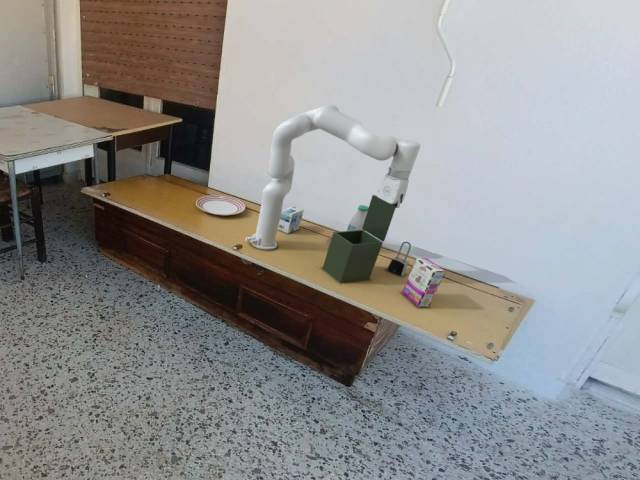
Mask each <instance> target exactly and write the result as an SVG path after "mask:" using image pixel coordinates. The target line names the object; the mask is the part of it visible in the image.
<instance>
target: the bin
mask: <svg viewBox="0 0 640 480" xmlns="http://www.w3.org/2000/svg"><path fill="white" fill-rule="evenodd" d="M383 245H384V241H383V242H382V241H381V240H379V239H378V238H376V237H374V236H373V235H371V234H370V233H368V232H366V231H364V230H354V231H347V230H343V231H333V233H332V235H331V239H330V242H329V246H328V249H327V253H326V255H325V259H324V262H323V265H322V270H324V271H325V272H326V273H327V274H329V275H330V276H331V277H332V278H334V279H335V280H336V281H337V282H338V283H340V284H341V283H349V282H358V281H367V280H368V281H369V280H370V278H371V275H372V273H373V270H374V267H375V264H376V263H377V260H378V257H379V254H380V252H381V249H382V246H383Z"/></svg>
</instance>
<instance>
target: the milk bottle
mask: <svg viewBox="0 0 640 480" xmlns="http://www.w3.org/2000/svg"><path fill="white" fill-rule="evenodd" d="M368 208H369V206H367V205H363V204H360V205H358V206H357V211H356V213H355V214H354V215H353V216H352V217H351V219H350V221H349V223H348V226H347V229H346V231H354V230H363V229H362V228H363V224H364V221H365V218H366V215H367V211H368ZM364 231H365V230H364ZM365 232H366V231H365Z"/></svg>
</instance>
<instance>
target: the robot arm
mask: <svg viewBox="0 0 640 480" xmlns="http://www.w3.org/2000/svg"><path fill="white" fill-rule="evenodd" d="M316 130H322V131H323V132H325V133H327V134H330V135H332V136H334V137H336V138H338V139H340V140H342V141H344V142H346V143H347V144H348V145H349V146H350V147H352V148H354V149H355V150H357V151H359V152H360V153H362V154H364V155H366V156H367V157H369V158H372V159H374V160H377V161H380V162H381V161H382V162H383V161H388V160H390V159H391V158H392V157H393V158H392V161H391V164H390V166H389V167H388V172H387V173H386V174H385V175H384V176H383V178H382V180H381V182H380V184H379V186H378V189H377V192H376V196H377V197H378V198H380V199H382V200H384V201H386V202H388V203H390V204H393V205H395V206H396V208H395V209H399V208H400V205H401V204H402V203H403V202H404V200H405V198H406V194H407V191H408V186H409V181H410V176H411V173H412V170H413V167H414V165H415V162H416V161H417V157H418V155H419V152H420V149H421V144H420V142H417V141H414V140H409V139H401V138H398V137H395V136H391V135H385V136H382V137H379V136H377V135H375V134H373V133H371V132H370V131H368V129H366V128H365V127H364V125H363V124H362V122H361V121H359V120H358V119H356V118H353V117H351V116H349V115H347V114H344V113H343V112H341V111H340V109H339V108H338V107H337V106H336V105H335V104H326V105H323V106H320V107H316V108H314V109H311V110H307V111H305V112H301V113H299V114H296V115H294V116H293V117H291V118H289V119H286V120H285V121H283V122H281V123H280V124H278V126H277V127H276V128H275V130H274V131H273V134H272V138H271V143H270V144H271V145H270V151H269V157H268V164H267V171H268V175H269V177H271V181H269V182H268V183H267V184H266V186H264V188H263V190H262V195H261V205H260V209H259V215H258V219H257V225H256V229H255V233H253V234H252V236H245V239H244V240H245V242H250V245H252V247H255V248H256V249H259V250H263V251H270V250H271V251H272V250H275V249H276V248H277V247H278V242H277V241H276V238H277V234H278V225H279V221H280V216H281V212H282V210H283V204H284V199H285V198H286V196H287V195H288V194H289V193H290V191H291V190H292V185H293V179H294V173H295V167H296V166H295V159H294V157H293V155H292V154H291V151H292V142H293V141H294V140H295V139H298V138H300V137H302V136H304V135H305V134H307V133H310V132H314V131H316Z"/></svg>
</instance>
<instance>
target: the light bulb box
mask: <svg viewBox="0 0 640 480" xmlns="http://www.w3.org/2000/svg"><path fill="white" fill-rule="evenodd" d="M303 214H304V209H302V208H300V207H297V206H294V205H292V206H290V207H287V208H285V209H282V212H281V216H280V221H279V225H278V229H277V231H281V232H283V233H286V234H290V233H292V232H296V231H298V230H300V225H301V223H302V218H303Z"/></svg>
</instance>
